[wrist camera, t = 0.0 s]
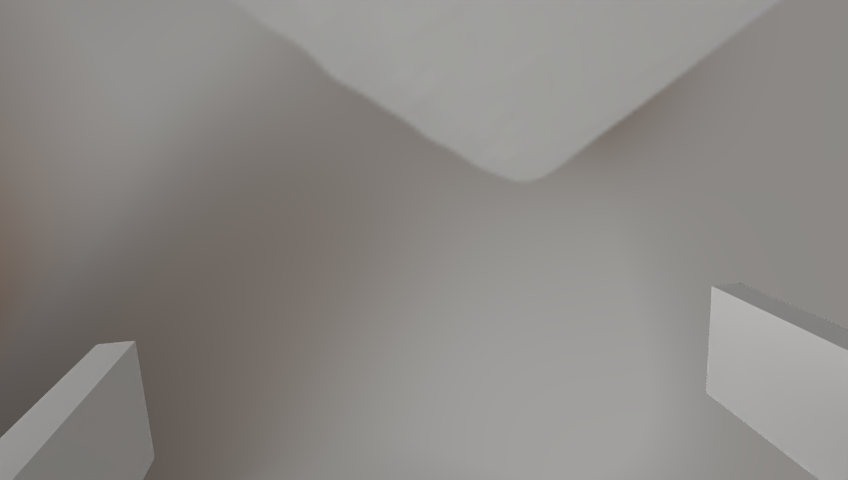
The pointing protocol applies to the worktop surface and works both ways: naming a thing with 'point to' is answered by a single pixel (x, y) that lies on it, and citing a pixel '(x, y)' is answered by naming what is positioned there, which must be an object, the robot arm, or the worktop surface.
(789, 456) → the robot arm
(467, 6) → the worktop surface
